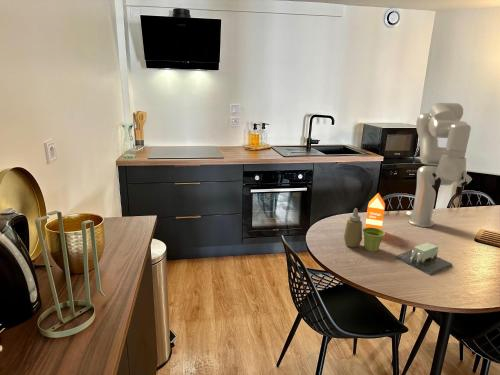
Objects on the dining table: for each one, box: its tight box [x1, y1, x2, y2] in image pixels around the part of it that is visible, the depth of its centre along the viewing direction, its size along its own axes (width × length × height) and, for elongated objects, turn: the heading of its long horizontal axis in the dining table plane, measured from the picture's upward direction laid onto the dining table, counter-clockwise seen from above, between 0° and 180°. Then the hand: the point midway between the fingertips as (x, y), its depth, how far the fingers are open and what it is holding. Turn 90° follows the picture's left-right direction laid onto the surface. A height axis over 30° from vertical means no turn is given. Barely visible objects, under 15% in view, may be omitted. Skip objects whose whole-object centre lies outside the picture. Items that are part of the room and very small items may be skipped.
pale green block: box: [413, 241, 438, 260], centre depth 146 cm, size 4×9×4 cm, turn 121°
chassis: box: [395, 246, 453, 276], centre depth 146 cm, size 16×15×6 cm
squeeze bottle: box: [343, 207, 363, 248], centre depth 158 cm, size 8×8×18 cm
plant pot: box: [362, 227, 386, 252], centre depth 156 cm, size 9×9×9 cm
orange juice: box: [364, 192, 386, 230], centre depth 172 cm, size 8×9×20 cm
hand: (447, 191), depth 151 cm, fingers open, 9 cm apart
